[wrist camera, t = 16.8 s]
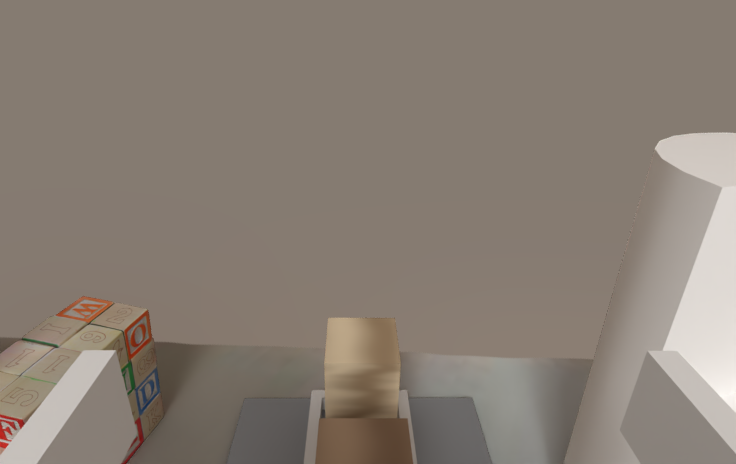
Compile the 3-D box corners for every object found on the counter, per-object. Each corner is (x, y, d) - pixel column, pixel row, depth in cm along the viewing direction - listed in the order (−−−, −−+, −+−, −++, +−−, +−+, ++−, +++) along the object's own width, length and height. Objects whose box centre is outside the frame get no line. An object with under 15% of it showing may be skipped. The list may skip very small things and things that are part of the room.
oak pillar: (326, 468, 38) (324, 363, 34) (329, 416, 43) (328, 317, 39) (393, 468, 39) (400, 363, 34) (389, 416, 44) (394, 318, 39)
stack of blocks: (-70, 716, 25) (-166, 586, 20) (-163, 680, 26) (-279, 547, 21) (165, 414, 44) (149, 306, 39) (106, 399, 45) (82, 292, 40)
